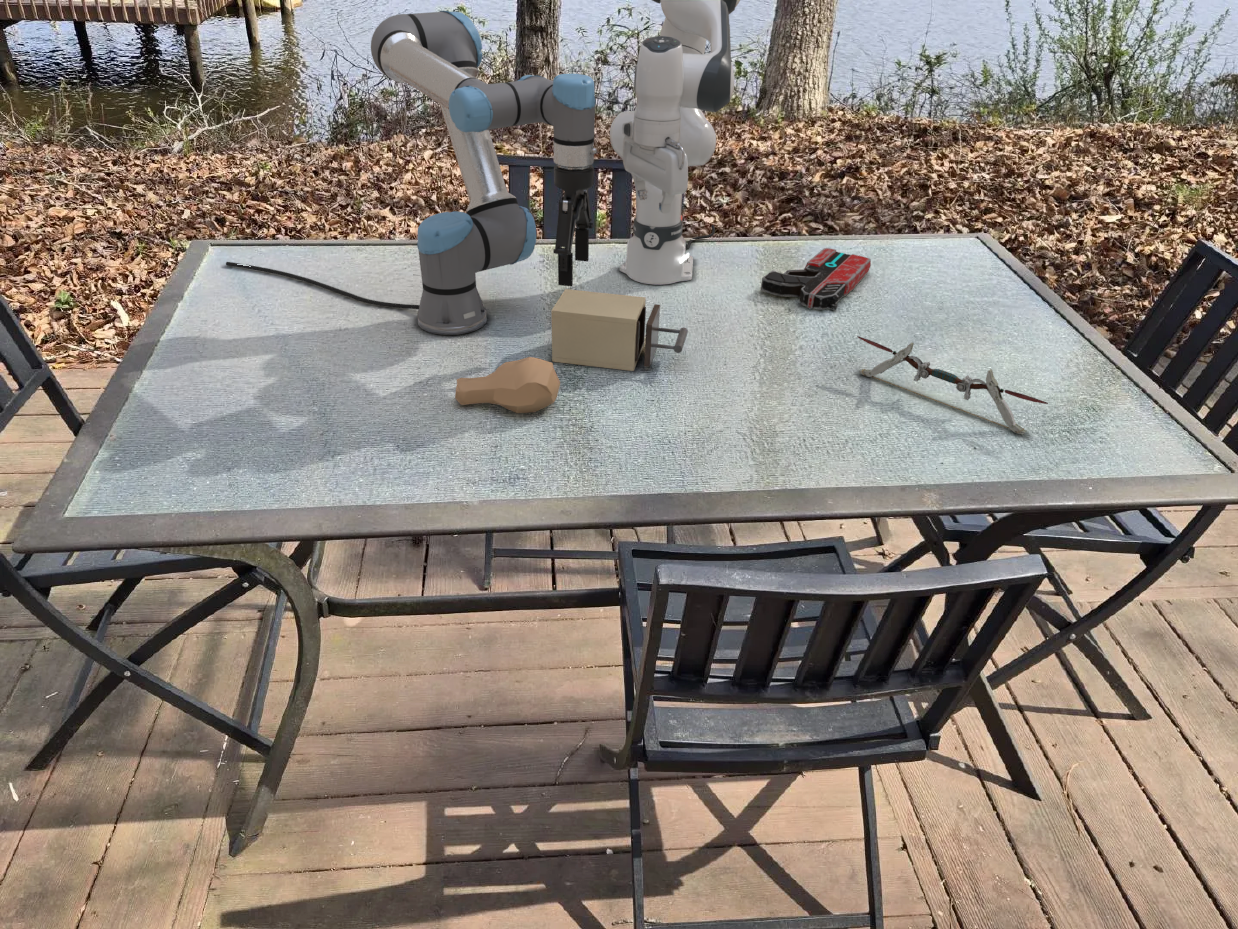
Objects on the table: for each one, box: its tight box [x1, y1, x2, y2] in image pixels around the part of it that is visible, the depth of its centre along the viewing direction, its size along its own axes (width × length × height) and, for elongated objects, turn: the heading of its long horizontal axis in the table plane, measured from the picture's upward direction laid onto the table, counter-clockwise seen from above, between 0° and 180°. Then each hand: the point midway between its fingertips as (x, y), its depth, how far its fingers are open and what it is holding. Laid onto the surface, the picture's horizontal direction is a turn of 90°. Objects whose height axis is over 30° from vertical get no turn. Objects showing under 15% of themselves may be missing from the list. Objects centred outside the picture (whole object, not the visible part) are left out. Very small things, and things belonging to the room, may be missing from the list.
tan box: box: [550, 288, 647, 372], centre depth 182 cm, size 17×12×12 cm, turn 79°
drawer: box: [635, 303, 689, 368], centre depth 181 cm, size 22×10×9 cm, turn 79°
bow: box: [856, 335, 1049, 435], centre depth 169 cm, size 39×2×10 cm, turn 47°
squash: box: [454, 356, 561, 414], centre depth 164 cm, size 11×20×9 cm, turn 90°
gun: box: [760, 247, 872, 311], centre depth 219 cm, size 4×31×19 cm
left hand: (573, 272), depth 176 cm, fingers open, 13 cm apart
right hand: (652, 205), depth 174 cm, fingers open, 8 cm apart
